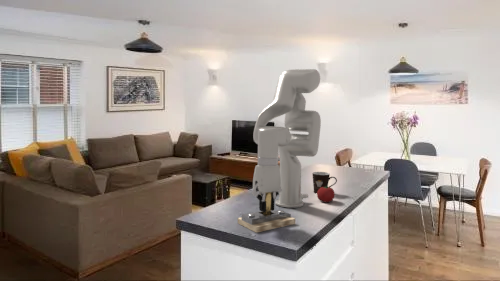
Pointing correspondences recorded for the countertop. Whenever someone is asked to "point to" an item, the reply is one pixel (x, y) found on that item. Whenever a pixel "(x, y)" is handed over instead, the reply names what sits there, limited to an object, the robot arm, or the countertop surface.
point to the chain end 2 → (282, 215)
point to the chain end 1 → (258, 217)
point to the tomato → (325, 194)
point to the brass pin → (267, 204)
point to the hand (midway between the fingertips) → (266, 209)
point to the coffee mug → (321, 180)
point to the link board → (267, 224)
